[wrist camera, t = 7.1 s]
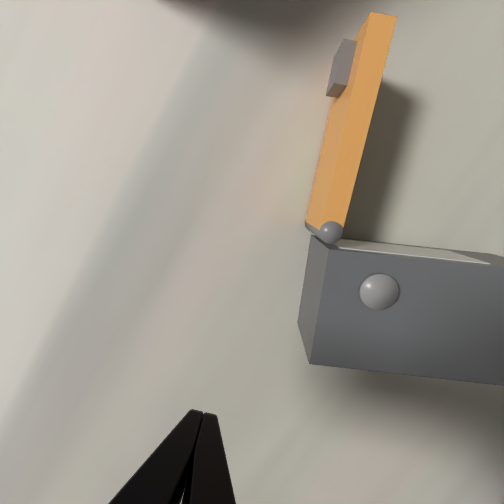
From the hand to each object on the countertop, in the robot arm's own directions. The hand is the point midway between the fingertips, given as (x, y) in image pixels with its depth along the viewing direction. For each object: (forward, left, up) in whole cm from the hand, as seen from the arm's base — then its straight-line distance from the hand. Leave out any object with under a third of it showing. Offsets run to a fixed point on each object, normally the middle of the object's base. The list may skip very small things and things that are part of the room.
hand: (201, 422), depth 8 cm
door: (+10, -5, -12) cm, 16 cm away
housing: (+1, -12, -12) cm, 17 cm away
